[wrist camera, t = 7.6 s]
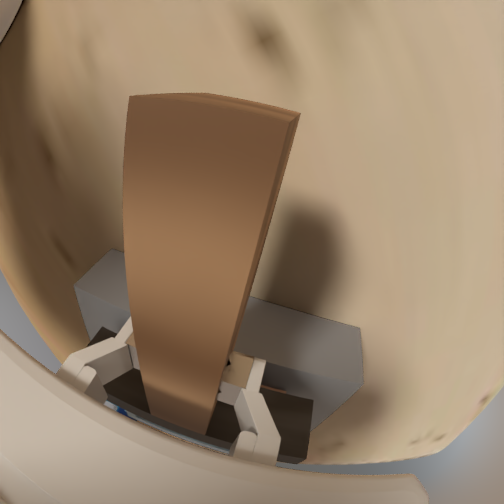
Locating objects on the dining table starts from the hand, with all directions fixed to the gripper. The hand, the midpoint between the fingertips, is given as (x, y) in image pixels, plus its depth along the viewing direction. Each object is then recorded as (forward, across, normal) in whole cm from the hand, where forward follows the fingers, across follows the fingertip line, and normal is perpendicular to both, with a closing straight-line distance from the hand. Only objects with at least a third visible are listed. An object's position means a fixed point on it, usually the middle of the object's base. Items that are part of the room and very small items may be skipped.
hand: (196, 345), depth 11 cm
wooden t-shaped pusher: (+2, 0, -2) cm, 3 cm away
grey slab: (+8, 0, +10) cm, 13 cm away
